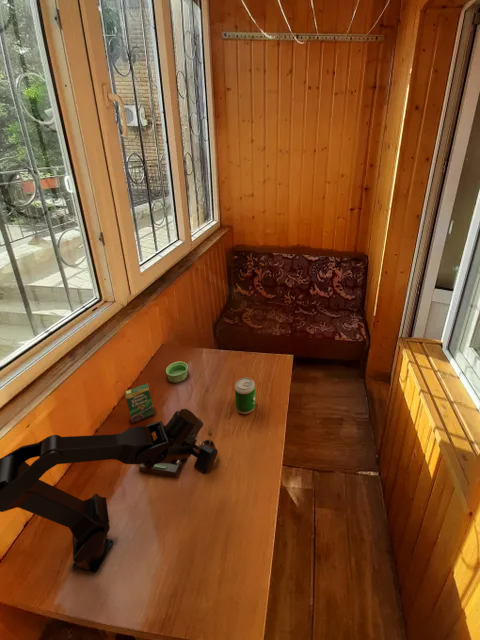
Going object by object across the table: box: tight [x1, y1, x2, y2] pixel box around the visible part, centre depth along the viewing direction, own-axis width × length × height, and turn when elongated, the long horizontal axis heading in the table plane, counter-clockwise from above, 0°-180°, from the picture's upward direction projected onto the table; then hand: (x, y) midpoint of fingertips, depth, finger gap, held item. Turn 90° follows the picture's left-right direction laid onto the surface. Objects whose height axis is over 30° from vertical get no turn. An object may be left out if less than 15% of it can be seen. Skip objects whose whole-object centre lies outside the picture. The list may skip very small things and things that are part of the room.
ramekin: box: [165, 361, 189, 384], centre depth 135 cm, size 9×9×4 cm
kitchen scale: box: [138, 437, 184, 478], centre depth 102 cm, size 14×12×2 cm
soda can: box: [234, 377, 257, 415], centre depth 118 cm, size 8×8×12 cm
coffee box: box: [124, 382, 155, 424], centre depth 113 cm, size 8×3×13 cm, turn 121°
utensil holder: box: [198, 425, 218, 469], centre depth 98 cm, size 6×6×12 cm
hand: (203, 445), depth 95 cm, fingers open, 9 cm apart
